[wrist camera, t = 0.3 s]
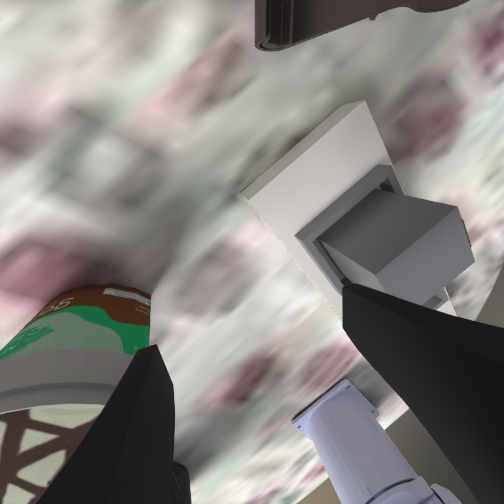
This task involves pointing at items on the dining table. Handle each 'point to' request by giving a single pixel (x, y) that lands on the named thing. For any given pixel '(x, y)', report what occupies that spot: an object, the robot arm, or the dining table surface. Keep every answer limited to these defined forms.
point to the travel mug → (180, 485)
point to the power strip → (326, 194)
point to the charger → (399, 245)
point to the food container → (63, 380)
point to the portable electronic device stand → (323, 17)
